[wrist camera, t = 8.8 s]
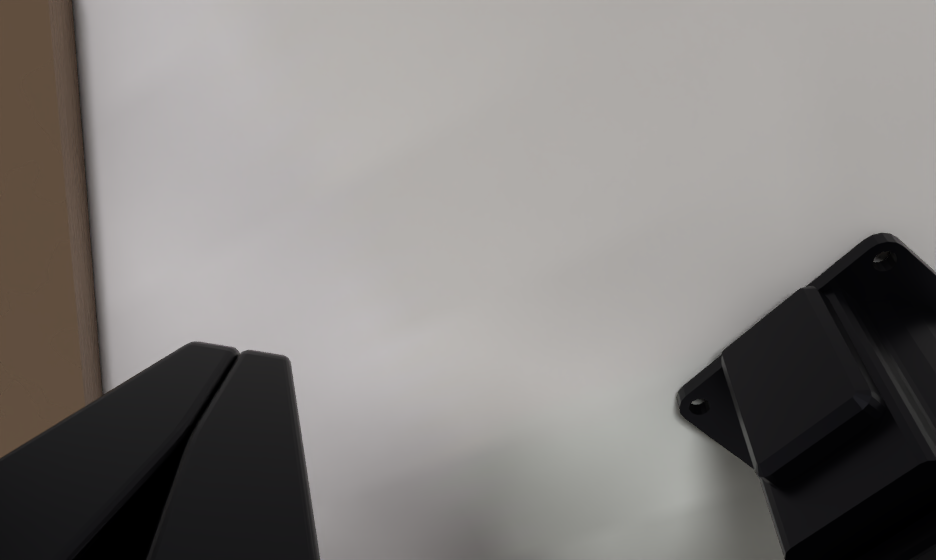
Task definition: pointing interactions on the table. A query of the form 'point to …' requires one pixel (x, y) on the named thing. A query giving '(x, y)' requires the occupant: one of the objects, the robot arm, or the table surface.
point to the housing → (43, 226)
